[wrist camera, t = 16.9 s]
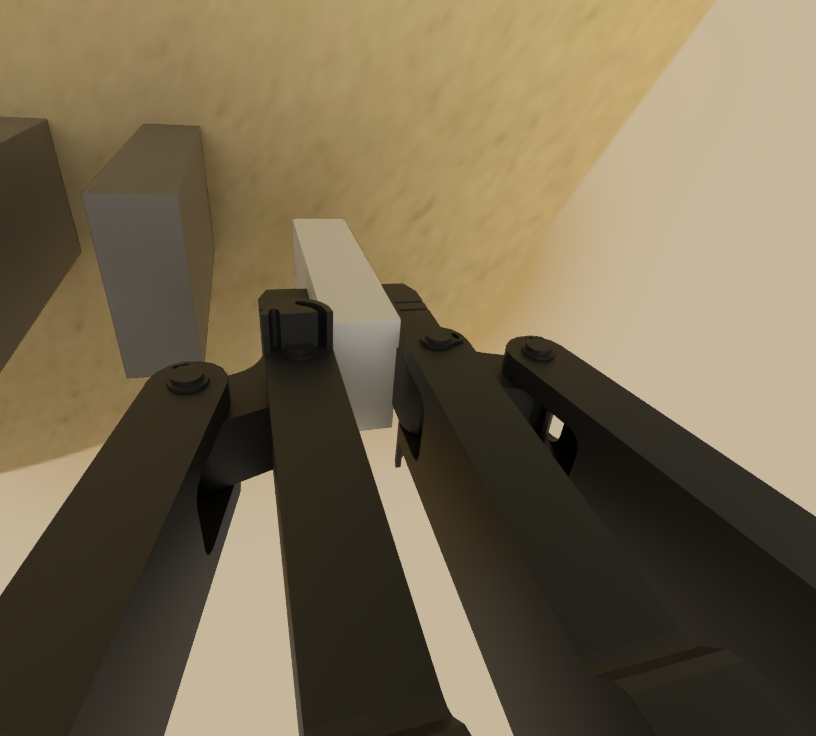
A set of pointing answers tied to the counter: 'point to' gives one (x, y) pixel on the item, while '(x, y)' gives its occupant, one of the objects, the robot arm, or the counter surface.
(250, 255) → the counter surface
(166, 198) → the domino
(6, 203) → the domino
